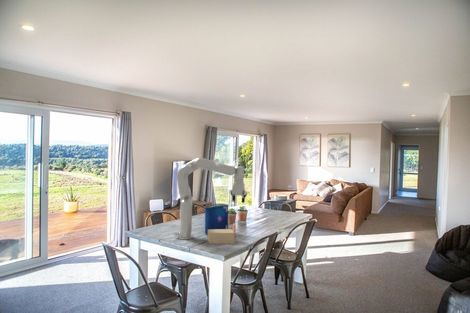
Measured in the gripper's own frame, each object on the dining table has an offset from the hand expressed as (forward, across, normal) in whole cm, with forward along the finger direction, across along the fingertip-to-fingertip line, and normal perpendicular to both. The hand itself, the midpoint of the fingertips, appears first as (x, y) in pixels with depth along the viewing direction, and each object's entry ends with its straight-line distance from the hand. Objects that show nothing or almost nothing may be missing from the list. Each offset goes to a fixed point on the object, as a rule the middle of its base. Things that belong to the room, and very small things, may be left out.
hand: (238, 201), depth 262 cm
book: (+30, -21, -2) cm, 37 cm away
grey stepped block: (+29, -3, -17) cm, 34 cm away
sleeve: (+30, -3, -18) cm, 35 cm away
